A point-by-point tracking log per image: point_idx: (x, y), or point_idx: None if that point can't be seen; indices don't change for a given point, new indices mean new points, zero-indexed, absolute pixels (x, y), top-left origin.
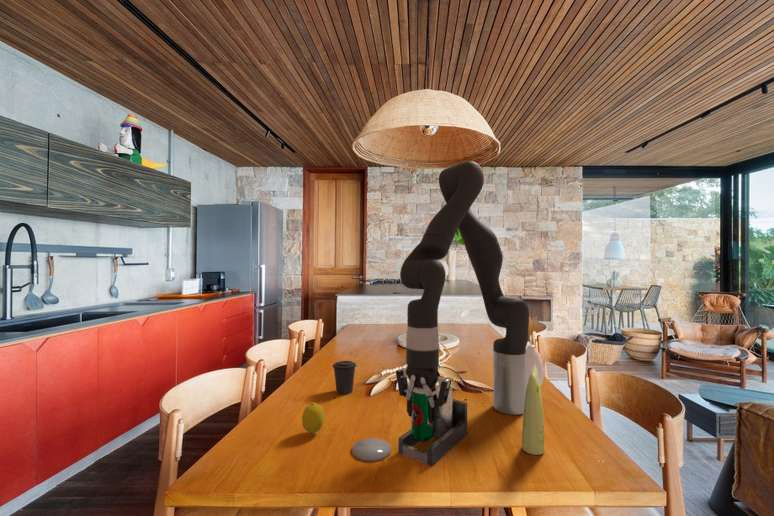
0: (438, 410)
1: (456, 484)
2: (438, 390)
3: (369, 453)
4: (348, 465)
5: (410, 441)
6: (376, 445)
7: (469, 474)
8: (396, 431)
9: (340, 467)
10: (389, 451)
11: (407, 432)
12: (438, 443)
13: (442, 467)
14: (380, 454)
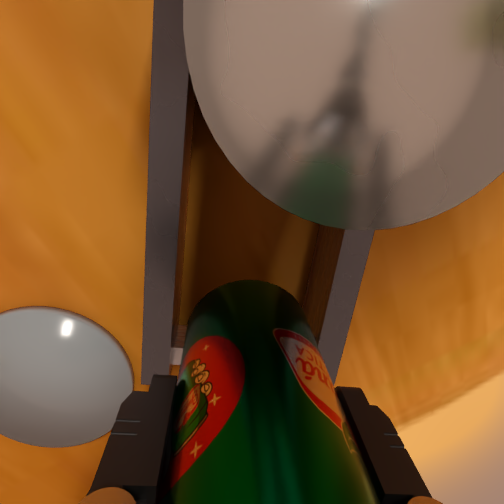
0: (415, 474)
1: (415, 390)
2: (342, 169)
3: (69, 417)
4: (54, 475)
5: (177, 303)
6: (47, 362)
7: (450, 326)
8: (17, 174)
9: (41, 492)
10: (126, 370)
11: (150, 321)
12: (340, 335)
13: (351, 336)
14: (110, 402)
